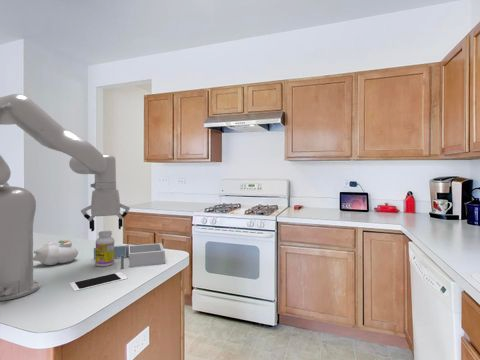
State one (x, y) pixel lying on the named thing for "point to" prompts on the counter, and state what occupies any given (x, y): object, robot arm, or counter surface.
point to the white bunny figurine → (56, 253)
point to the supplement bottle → (104, 249)
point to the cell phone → (97, 281)
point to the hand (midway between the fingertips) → (106, 229)
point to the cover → (118, 251)
